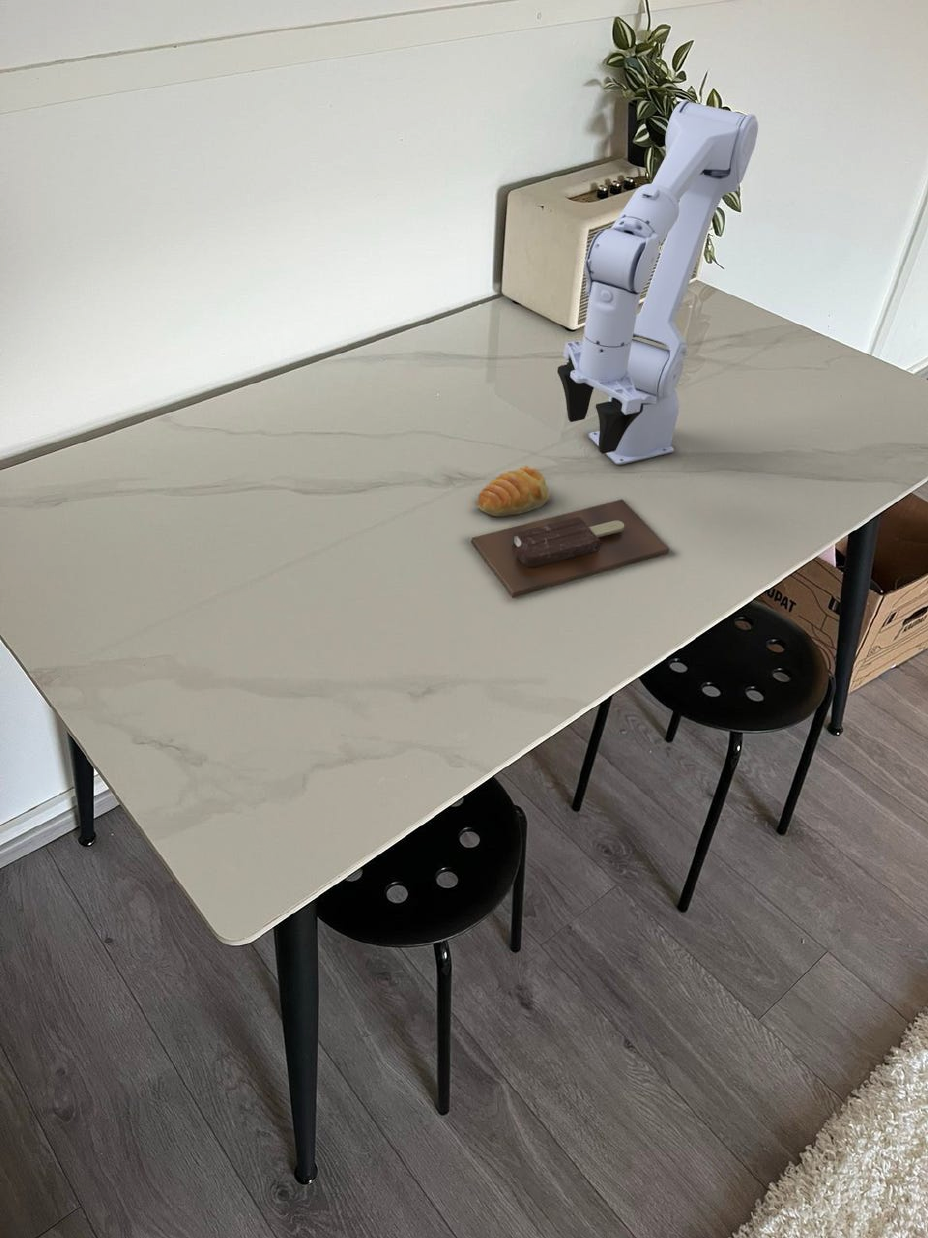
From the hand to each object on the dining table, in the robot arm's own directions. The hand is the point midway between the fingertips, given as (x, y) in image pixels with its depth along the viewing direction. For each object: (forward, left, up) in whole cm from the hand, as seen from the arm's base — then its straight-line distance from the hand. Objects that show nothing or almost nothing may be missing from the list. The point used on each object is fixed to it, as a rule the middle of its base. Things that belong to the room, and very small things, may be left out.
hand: (591, 434), depth 130 cm
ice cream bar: (+7, +9, -9) cm, 14 cm away
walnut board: (+7, +9, -9) cm, 15 cm away
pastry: (+9, -2, -10) cm, 13 cm away
